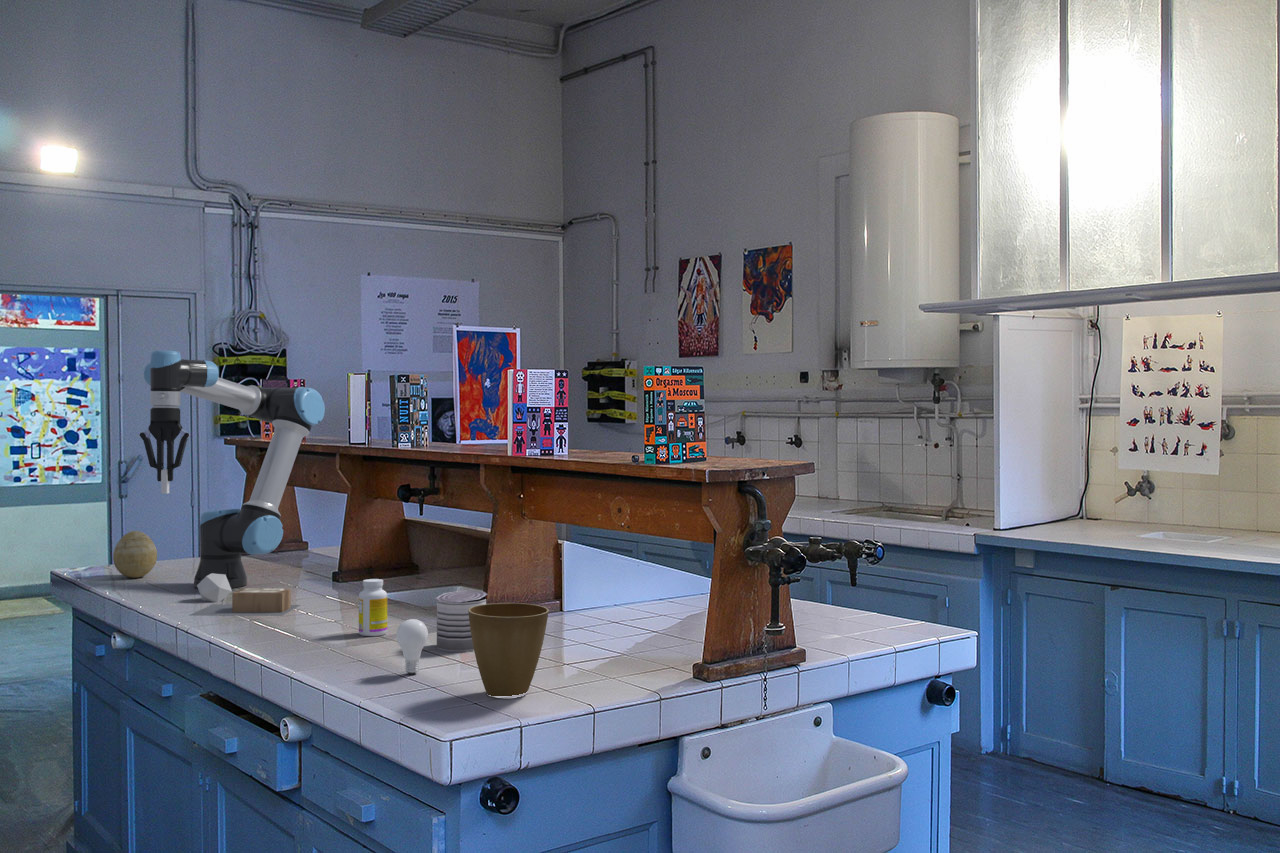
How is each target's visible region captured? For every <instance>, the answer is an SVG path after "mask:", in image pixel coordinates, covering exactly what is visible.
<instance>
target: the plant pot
mask: <svg viewBox="0 0 1280 853" xmlns="http://www.w3.org/2000/svg"><path fill="white" fill-rule="evenodd" d="M468 612H469V622H470V630H471V636H472V642H473V647H474V651H473V652H474V656H475V660H476V664H477V665H476V666H477V667H478V668H477V669H478V672H479V675H480V678H481V682H482V684H483V687H484V690H485V692H486V695H487V694H488V695H491V696H512V695H519V694H523V693H526V692H527V691H529V689H530V686H531V683H532V682H533V679H534V676H535V672H536V669H537V667H538V663H539V660H540V656H541V653H542V648H543V644H544V639H545V636H546V630H547V625H548V618H549V612H550V610H549V608H547V607H546V606H542V605H538V604H533V603H521V602H520V603H519V602H497V603H486V604H483V605H477V606H473V607H471V608H469V609H468ZM527 693H528V692H527ZM488 695H487V696H488Z"/></svg>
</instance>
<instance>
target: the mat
mask: <svg viewBox="0 0 1280 853" xmlns="http://www.w3.org/2000/svg"><path fill="white" fill-rule="evenodd" d="M300 606H301V604H291V608H289V609H288V610H286V611H284V612H232V604H210V605H209V606H205V607H204V608H201V609H199V610H198V611H195V612H193V613H191V614H189V616H201V617H202V616H212V617H213V616H216V617H217V616H222V617H224V616H232V617H235V616H238V617H241V616H244V617H245V616H247V617H252V616H254V617H257V616H258V617H259V616H260V617H261V616H262V617H263V616H264V617H268V616H269V617H270V616H271V617H272V616H273V617H276V616H277V617H279V616H281V617H283V616H284V615H286V614H288V613H290V612H292V611H294V609H297V608H298V607H300Z"/></svg>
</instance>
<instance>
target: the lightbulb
mask: <svg viewBox="0 0 1280 853" xmlns="http://www.w3.org/2000/svg"><path fill="white" fill-rule="evenodd" d="M395 639H396V643H397V644H398V647H400V649H401V651H402V654H403V658H404V664H405V668H404V669H405V670H404V672H405V673H407V674H409V675H415V674H416V673H418V672H419V670H420V668H419V667H420V666H419V664H420V658H421V654H422V650H423V648H424V647H425V646H426V645H427V642H428V639H429V630H428V628H427V626H426V624H425V623H424V622H423V621H421V620H419V619H416V618H410V619H406V620H405V621H402V623H400V624H399V625H398V627H397V629H396V633H395Z"/></svg>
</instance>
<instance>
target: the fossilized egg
mask: <svg viewBox="0 0 1280 853" xmlns="http://www.w3.org/2000/svg"><path fill="white" fill-rule="evenodd" d="M157 550H158V549H157V548H156V545H155V543H154V541H153V540H152V539H151V537H150V536H149V535H147V534H146V533H144V532H143V531H141V530H131V531H128V532H127V533H125V534H124V535H123V536H122V537H121V538H120V539H119V540H118V542H117V543H116V545H115V547H114V550H113V555H112V559H113V564H114V567H115V570H117V571H118V572H119V573H120V574H121V575H122V576H124V577H127V578H131V579H139V578H142V577H145V576H147V574H149V573H150V572H151V571H152V570H153V569H154V568H155V566H156V563H157V560H158V551H157Z"/></svg>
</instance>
